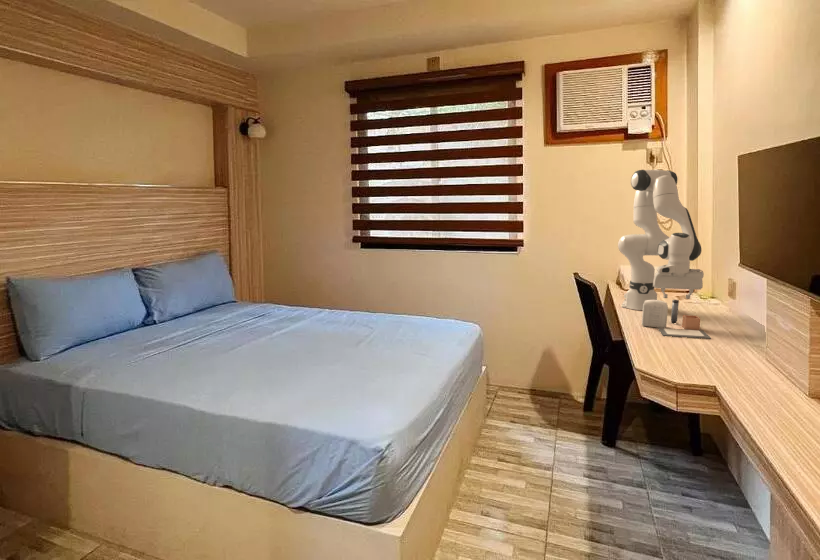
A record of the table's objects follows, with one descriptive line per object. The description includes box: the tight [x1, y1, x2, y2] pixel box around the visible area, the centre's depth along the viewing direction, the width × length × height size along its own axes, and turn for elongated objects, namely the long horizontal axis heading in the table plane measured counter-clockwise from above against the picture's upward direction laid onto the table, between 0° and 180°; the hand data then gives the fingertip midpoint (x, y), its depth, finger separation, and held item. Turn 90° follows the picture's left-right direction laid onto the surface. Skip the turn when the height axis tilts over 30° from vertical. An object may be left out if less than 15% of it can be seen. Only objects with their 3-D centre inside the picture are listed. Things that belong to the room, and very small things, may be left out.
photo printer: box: [641, 299, 669, 328], centre depth 231 cm, size 10×4×12 cm, turn 61°
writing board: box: [657, 327, 712, 340], centre depth 219 cm, size 12×18×1 cm, turn 74°
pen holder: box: [681, 314, 701, 330], centre depth 227 cm, size 6×6×6 cm
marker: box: [670, 299, 680, 324], centre depth 236 cm, size 3×3×11 cm
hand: (676, 298), depth 234 cm, fingers open, 8 cm apart
